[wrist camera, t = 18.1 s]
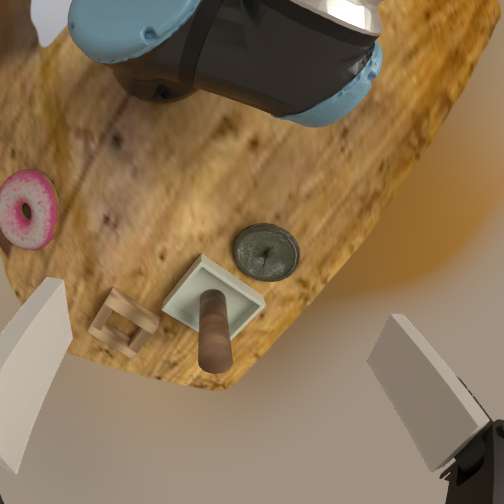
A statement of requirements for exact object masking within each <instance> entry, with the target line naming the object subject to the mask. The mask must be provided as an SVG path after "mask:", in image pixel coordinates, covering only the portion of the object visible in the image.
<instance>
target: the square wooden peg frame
mask: <svg viewBox="0 0 504 504" xmlns="http://www.w3.org/2000/svg"><path fill="white" fill-rule="evenodd" d="M113 310H114V311H116V312H117V313H119V314H121V315H122V316H124V317H125V318H127V319H128V320H130V321H132V322H133V323H135V324H136V325H138V326H140V327H139V328H138V329H137V331H136V332H135V333H134V335H133V336H132V337H131V338H130V337H129V336H127V335H125V334H124V333H122V332H120V331H119V330H117V329H116V328H114V327H112V326H111V325H109V324H108V323H106V321H107V319H108V318H109V316H110V315H111V313H112V312H113ZM160 318H161V317H159V316H158V315H156V314H154V313H153V312H151V311H150V310H148V309H147V308H145V307H143V306H142V305H140V304H139V303H137V302H136V301H134V300H133V299H131V298H130V297H128V296H127V295H125V294H124V293H122V292H121V291H119V290H118V289H116V288H115V287H113V288H112V290H111V291H110V293H109V295H108V296H107V298H106V299H105V301H104V303H103V304H102V306H101V308H100V309H99V311H98V313H97V314H96V316H95V318H94V319H93V321H92V323H91V325H90V327H89V329H88V331H87V332H89V333H90V334H92V335H93V336H95V337H96V338H98V339H99V340H101V341H103V342H104V343H106V344H107V345H109V346H111V347H112V348H114V349H116V350H117V351H119V352H121V353H123V354H124V355H126V356H128V357H129V358H131V359H133V358H134V357H135V356H136V354H137V353H138V352H139V351H140V349H141V348H142V347H143V346H144V344H145V343H146V342H147V341H148V340H149V338H150V337H151V336H152V335H153V333H154V332H155V331H156V330H157V329H158V327H159V323H160Z"/></svg>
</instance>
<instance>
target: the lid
mask: <svg viewBox="0 0 504 504" xmlns="http://www.w3.org/2000/svg"><path fill="white" fill-rule="evenodd" d="M233 253H234V259H235V262H236V264H237V266H238V267H239V268H240V270H241V271H242V272H244V273H245V274H246V275H248V276H250V277H251V278H254V279H257V280H260V281H266V282H275V281H280V280H283V279H285V278H288V277H289V276H290V275H291V274H292V273H293V272H294V271H295V269H296V268H297V266H298V263H299V258H300V249H299V246H298V243H297V241H296V240H295V238H294V237H293V236H292V235H291V234H290V233H289V232H288V231H286V230H285V229H283V228H281V227H278V226H276V225H274V224H267V223H261V224H255V225H251V226H249V227H248V228H246V229H245V230H243V231H242V232H241V233H240V234H239V235H238V236H237V237H236V239H235V242H234V246H233Z"/></svg>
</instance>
